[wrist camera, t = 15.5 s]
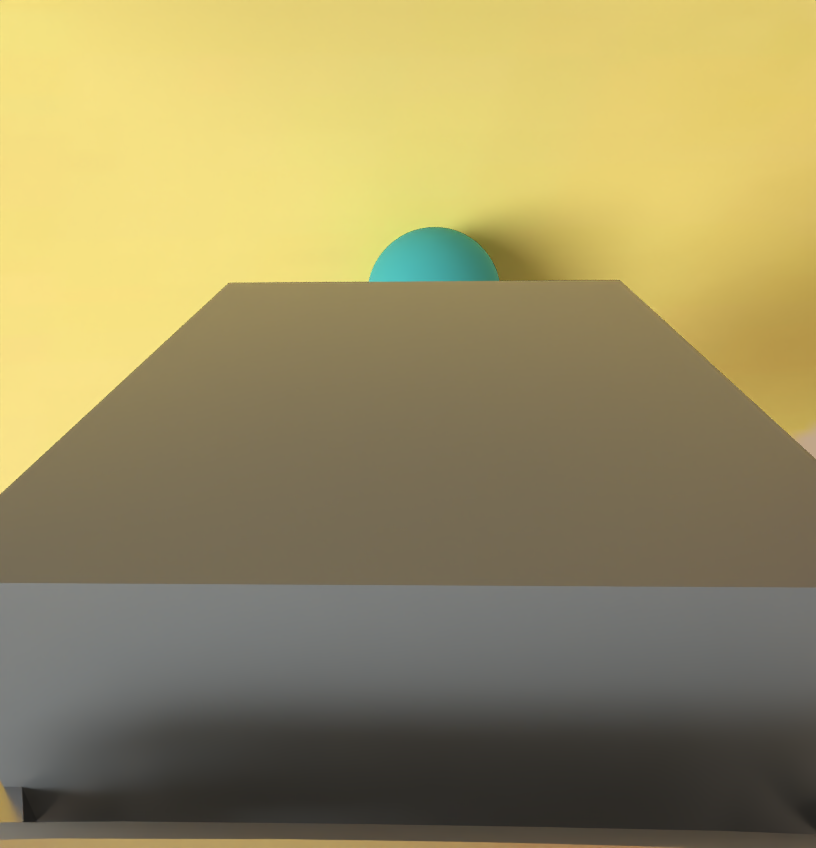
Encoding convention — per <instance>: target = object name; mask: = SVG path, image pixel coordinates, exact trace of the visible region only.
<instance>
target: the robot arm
mask: <svg viewBox="0 0 816 848" xmlns="http://www.w3.org/2000/svg"><path fill="white" fill-rule="evenodd" d="M0 848H816V834H790V833H764V832H739V831H703V830H657V829H610V828H564V827H512V826H452V825H389V824H321V823H229V822H129V821H113V822H37V819H36V817H35V815H34V812H33V810H32V808H31V806H30V804H29V801H28V799H27V797H26V795H25V793H24V790H23V788H22V787H3V785H2V783H1V781H0Z"/></svg>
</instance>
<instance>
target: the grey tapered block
mask: <svg viewBox="0 0 816 848" xmlns="http://www.w3.org/2000/svg"><path fill="white" fill-rule="evenodd" d="M0 781H1V783H2V785H3V787H22V788H23V790H24V793H25V795H26V797H27V799H28V801H29V804H30V806H31V808H32V810H33V812H34V815H35V817H36V819H37V822H113V821H129V822H229V823H321V824H389V825H452V826H512V827H564V828H610V829H657V830H703V831H739V832H764V833H790V834H816V459H815V458H814V457H813V456H812V455H811V454H809V453H808V452H807V451H806V450H805V449H804V448H803V447H802V446H801V445H800V444H799V443H797V442H796V441H795V440H794V439H793V438H792V437H791V436H790V435H789V434H788V433H786V432H785V431H784V430H783V429H782V428H781V427H780V426H779V425H778V424H777V423H776V422H774V421H773V420H772V419H771V418H770V417H769V416H768V415H767V414H766V413H765V412H764V411H762V410H761V409H760V408H759V407H758V406H757V405H756V404H755V403H754V402H753V401H751V400H750V399H749V398H748V397H747V396H746V395H745V394H744V393H743V392H742V391H741V390H739V389H738V388H737V387H736V386H735V385H734V384H733V383H732V382H731V381H730V380H728V379H727V378H726V377H725V376H724V375H723V374H722V373H721V372H720V371H719V370H718V369H716V368H715V367H714V366H713V365H712V364H711V363H710V362H709V361H708V360H707V359H706V358H704V357H703V356H702V355H701V354H700V353H699V352H698V351H697V350H696V349H695V348H693V347H692V346H691V345H690V344H689V343H688V342H687V341H686V340H685V339H684V338H683V337H681V336H680V335H679V334H678V333H677V332H676V331H675V330H674V329H673V328H672V327H670V326H669V325H668V324H667V323H666V322H665V321H664V320H663V319H662V318H661V317H660V316H658V315H657V314H656V313H655V312H654V311H653V310H652V309H651V308H650V307H649V306H647V305H646V304H645V303H644V302H643V301H642V300H641V299H640V298H639V297H638V296H637V295H635V294H634V293H633V292H632V291H631V290H630V289H629V288H628V287H627V286H626V285H625V284H623V283H622V282H621V281H620V280H549V281H412V282H275V283H228V284H227V285H226V286H225V287H224V288H223V289H222V290H221V291H220V292H219V293H217V294H216V295H215V296H214V297H213V298H212V299H211V300H210V301H209V302H208V303H207V304H206V305H204V306H203V307H202V308H201V309H200V310H199V311H198V312H197V313H196V314H195V315H194V316H193V317H191V318H190V319H189V320H188V321H187V322H186V323H185V324H184V325H183V326H182V327H181V328H180V329H179V330H177V331H176V332H175V333H174V334H173V335H172V336H171V337H170V338H169V339H168V340H167V341H166V342H164V343H163V344H162V345H161V346H160V347H159V348H158V349H157V350H156V351H155V352H154V353H153V354H152V355H150V356H149V357H148V358H147V359H146V360H145V361H144V362H143V363H142V364H141V365H140V366H139V367H137V368H136V369H135V370H134V371H133V372H132V373H131V374H130V375H129V376H128V377H127V378H126V379H125V380H123V381H122V382H121V383H120V384H119V385H118V386H117V387H116V388H115V389H114V390H113V391H112V392H110V393H109V394H108V395H107V396H106V397H105V398H104V399H103V400H102V401H101V402H100V403H99V404H97V405H96V406H95V407H94V408H93V409H92V410H91V411H90V412H89V413H88V414H87V415H86V416H85V417H83V418H82V419H81V420H80V421H79V422H78V423H77V424H76V425H75V426H74V427H73V428H72V429H70V430H69V431H68V432H67V433H66V434H65V435H64V436H63V437H62V438H61V439H60V440H59V441H58V442H56V443H55V444H54V445H53V446H52V447H51V448H50V449H49V450H48V451H47V452H46V453H45V454H43V455H42V456H41V457H40V458H39V459H38V460H37V461H36V462H35V463H34V464H33V465H32V466H31V467H29V468H28V469H27V470H26V471H25V472H24V473H23V474H22V475H21V476H20V477H19V478H18V479H16V480H15V481H14V482H13V483H12V484H11V485H10V486H9V487H8V488H7V489H6V490H5V491H3V492H2V493H1V494H0Z"/></svg>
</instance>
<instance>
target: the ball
mask: <svg viewBox="0 0 816 848" xmlns="http://www.w3.org/2000/svg"><path fill="white" fill-rule="evenodd" d="M412 281H499V277H498V273H497V270H496V268H495V266H494V264H493V262H492V260H491V258H490V257H489V255H488V254H487V253H486V251H485V250H484V249H483V248H482V247H481V246H480V245H479V244H478V243H477V242H476V241H474V240H473V239H472V238H470V237H468V236H466V235H465V234H463V233H461V232H458V231H456V230H452V229H448V228H441V227H428V228H422V229H418V230H414V231H411V232H409V233H406V234H404V235H402V236H401V237H399V238H398V239H396V240H395V241H394V242H392V243H391V244H390V245H389V246H388V247H387V248H386V249H385V250H384V251H383V252H382V254H381V255H380V256H379V258H378V259H377V261H376V263H375V265H374V267H373V269H372V272H371V275H370V278H369V282H412Z"/></svg>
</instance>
